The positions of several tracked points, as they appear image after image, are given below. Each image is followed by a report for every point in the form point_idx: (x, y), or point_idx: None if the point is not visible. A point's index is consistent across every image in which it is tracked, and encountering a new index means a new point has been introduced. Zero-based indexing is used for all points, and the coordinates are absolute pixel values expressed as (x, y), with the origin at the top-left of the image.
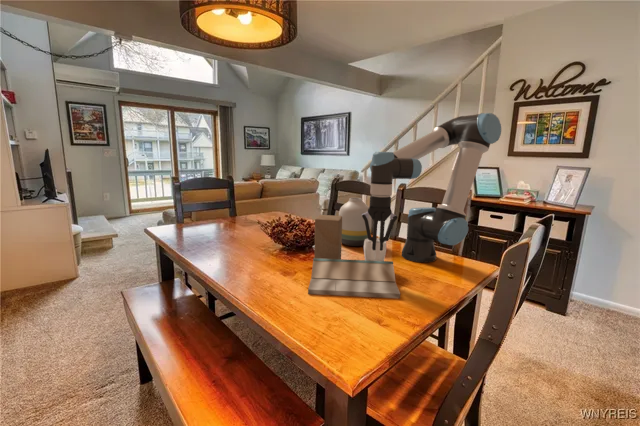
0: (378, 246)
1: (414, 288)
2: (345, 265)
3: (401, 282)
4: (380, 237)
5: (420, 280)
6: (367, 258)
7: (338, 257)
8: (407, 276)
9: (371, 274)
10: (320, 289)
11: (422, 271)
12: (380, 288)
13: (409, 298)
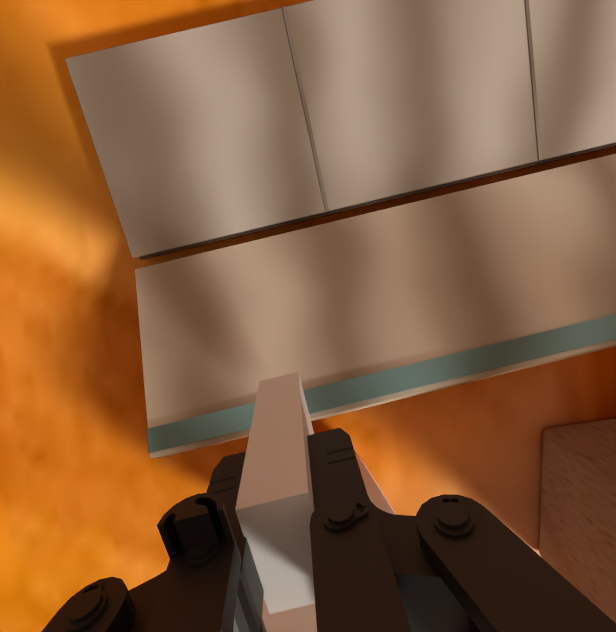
0: (266, 459)
1: (23, 274)
2: (532, 296)
3: (119, 341)
4: (220, 614)
5: (9, 415)
6: (378, 500)
7: (593, 479)
8: (99, 449)
9: (308, 274)
10: None
11: (23, 559)
12: (216, 110)
13: (24, 98)
